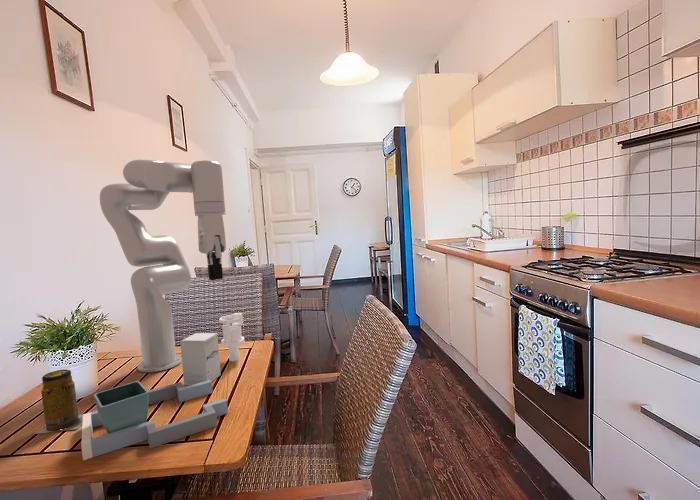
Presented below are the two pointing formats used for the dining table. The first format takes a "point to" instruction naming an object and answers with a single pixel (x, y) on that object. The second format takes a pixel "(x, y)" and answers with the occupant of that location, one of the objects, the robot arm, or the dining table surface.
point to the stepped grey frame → (148, 429)
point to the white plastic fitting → (232, 334)
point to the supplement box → (200, 358)
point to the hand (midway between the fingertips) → (215, 279)
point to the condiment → (59, 402)
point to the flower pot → (122, 406)
